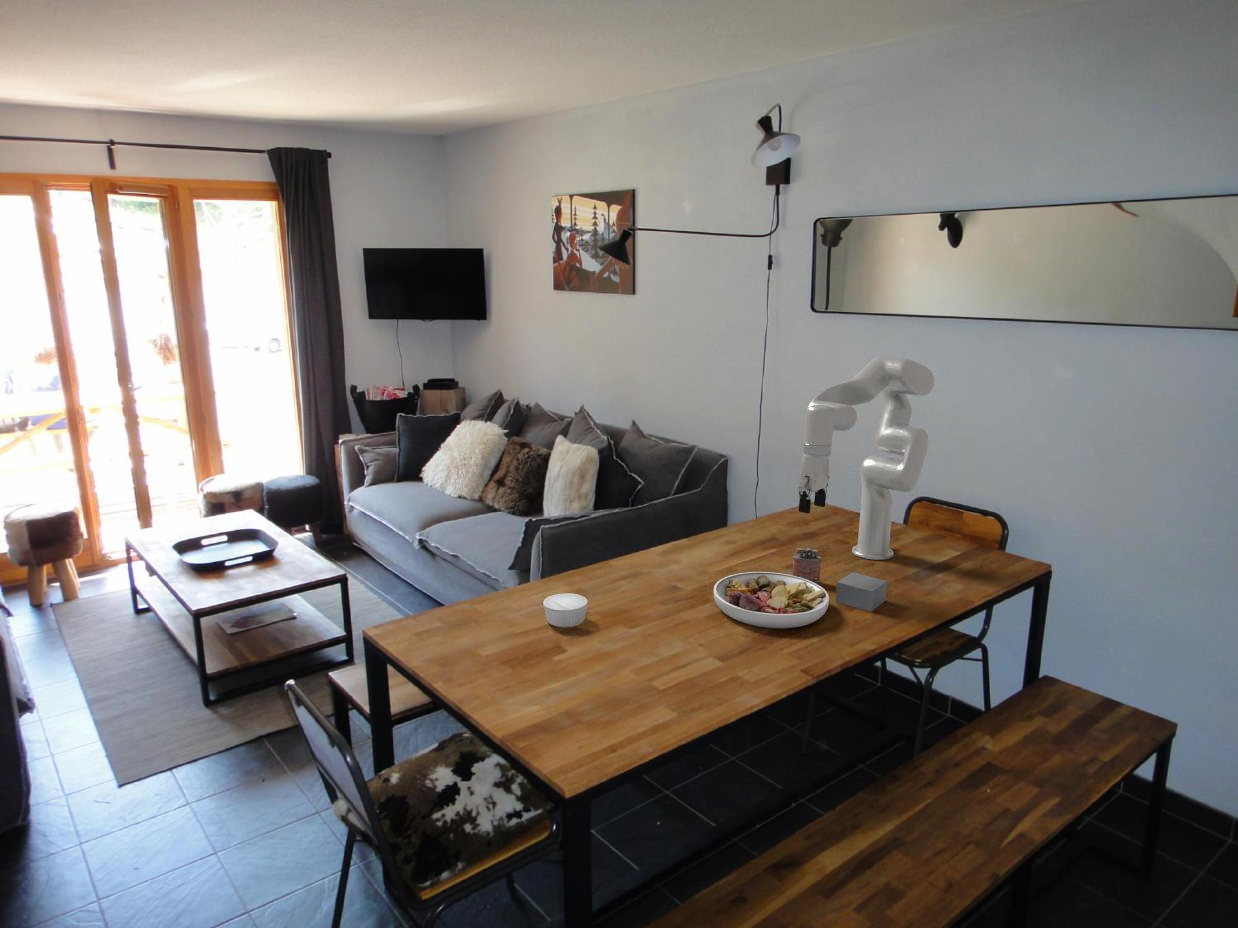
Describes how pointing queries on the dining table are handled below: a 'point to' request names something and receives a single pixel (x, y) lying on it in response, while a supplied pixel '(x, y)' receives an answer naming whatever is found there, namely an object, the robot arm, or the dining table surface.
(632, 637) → the dining table surface
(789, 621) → the bowl
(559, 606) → the ramekin
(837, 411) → the robot arm
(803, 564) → the lighter
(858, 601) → the gray block
